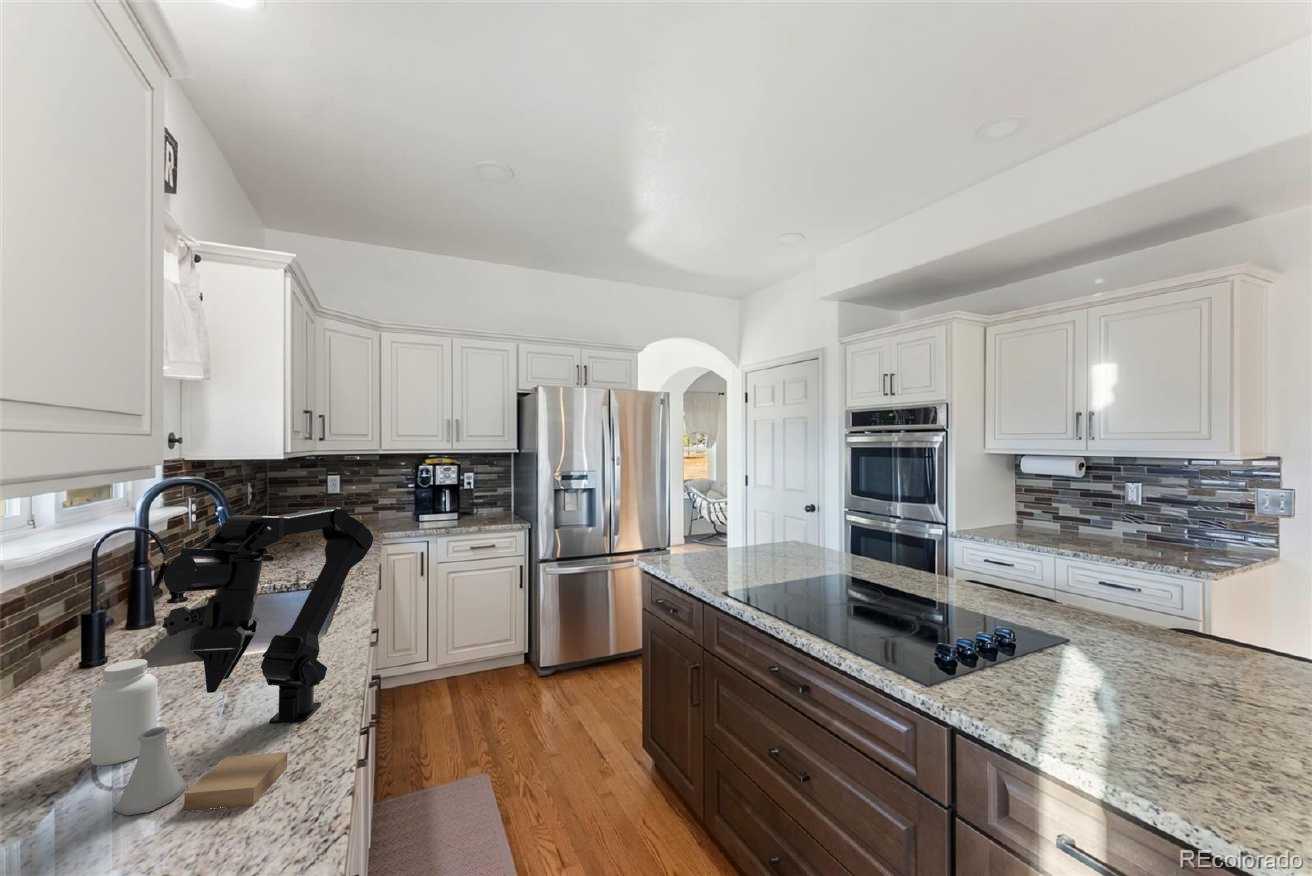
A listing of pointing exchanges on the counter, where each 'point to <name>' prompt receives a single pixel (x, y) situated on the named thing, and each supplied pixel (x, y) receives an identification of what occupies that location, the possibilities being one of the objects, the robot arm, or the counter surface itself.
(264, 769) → the square wooden block
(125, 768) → the counter surface
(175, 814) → the counter surface
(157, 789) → the flask
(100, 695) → the pill bottle
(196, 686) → the counter surface
